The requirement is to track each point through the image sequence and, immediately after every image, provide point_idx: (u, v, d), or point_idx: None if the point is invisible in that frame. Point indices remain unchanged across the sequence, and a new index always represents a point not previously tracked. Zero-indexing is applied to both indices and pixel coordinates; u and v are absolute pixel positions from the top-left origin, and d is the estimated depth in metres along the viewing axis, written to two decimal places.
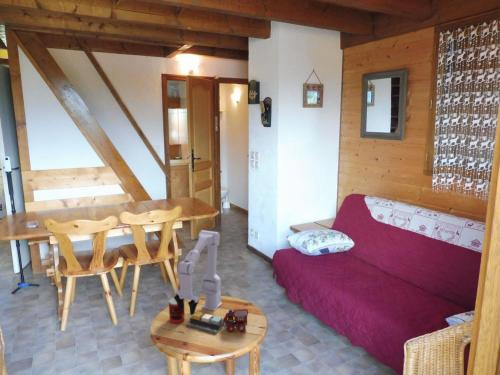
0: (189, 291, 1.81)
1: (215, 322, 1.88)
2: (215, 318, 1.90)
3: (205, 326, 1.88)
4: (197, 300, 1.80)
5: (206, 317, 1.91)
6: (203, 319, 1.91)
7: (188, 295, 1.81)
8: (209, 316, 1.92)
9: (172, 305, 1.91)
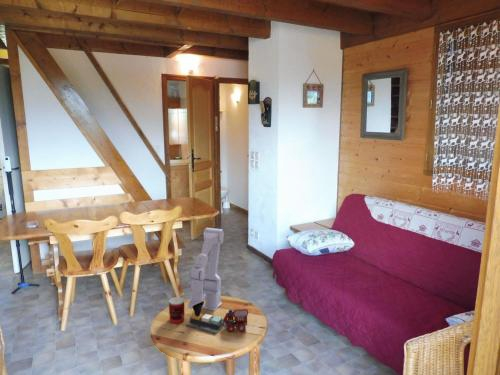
0: (193, 296, 1.90)
1: (215, 322, 1.88)
2: (215, 318, 1.90)
3: (205, 326, 1.88)
4: (189, 306, 1.86)
5: (206, 317, 1.91)
6: (203, 319, 1.91)
7: (192, 299, 1.91)
8: (209, 316, 1.92)
9: (172, 305, 1.91)
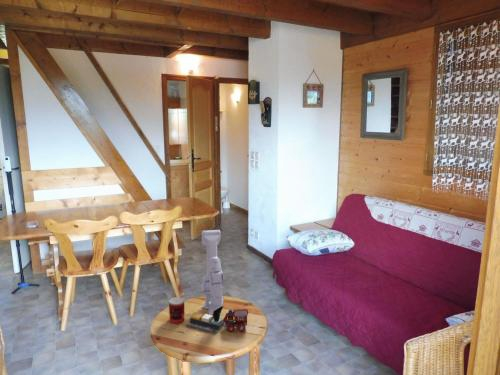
0: (212, 301, 1.85)
1: (215, 323, 1.88)
2: None
3: (205, 326, 1.88)
4: (210, 312, 1.82)
5: (206, 317, 1.91)
6: (203, 319, 1.91)
7: (212, 304, 1.86)
8: (209, 316, 1.92)
9: (172, 305, 1.91)
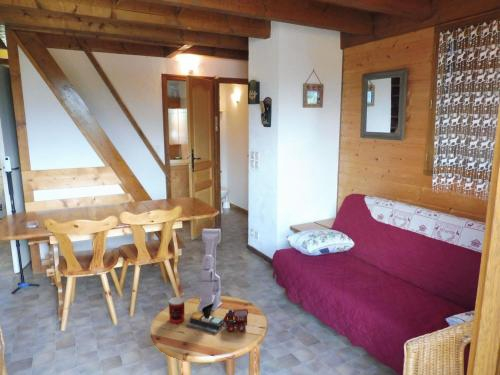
0: (202, 298, 1.88)
1: (215, 323, 1.88)
2: (215, 319, 1.90)
3: (205, 326, 1.88)
4: (199, 309, 1.84)
5: (206, 318, 1.91)
6: (203, 320, 1.91)
7: (202, 301, 1.88)
8: (209, 317, 1.92)
9: (172, 305, 1.91)
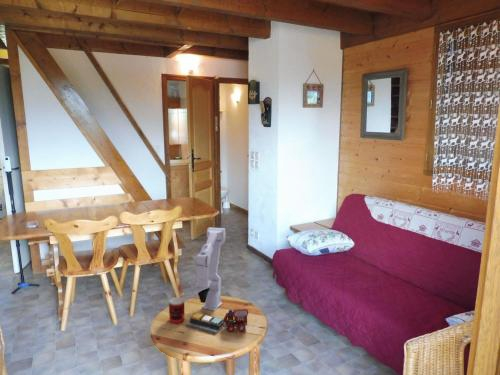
0: (198, 282, 1.91)
1: (215, 323, 1.88)
2: (215, 319, 1.90)
3: (205, 326, 1.88)
4: (195, 293, 1.87)
5: (206, 318, 1.91)
6: (203, 320, 1.91)
7: (198, 285, 1.92)
8: (209, 317, 1.92)
9: (172, 305, 1.91)
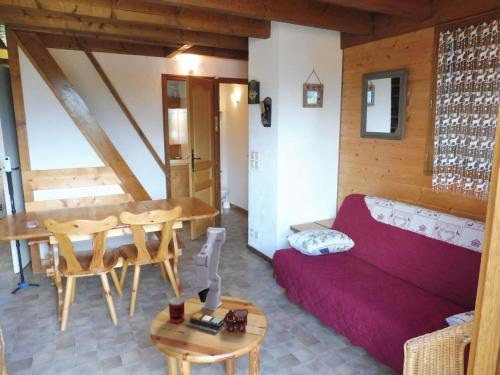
0: (198, 282, 1.91)
1: (215, 323, 1.88)
2: (215, 319, 1.90)
3: (205, 326, 1.88)
4: (195, 292, 1.87)
5: (206, 318, 1.91)
6: (203, 320, 1.91)
7: (198, 285, 1.92)
8: (209, 317, 1.92)
9: (172, 305, 1.91)
